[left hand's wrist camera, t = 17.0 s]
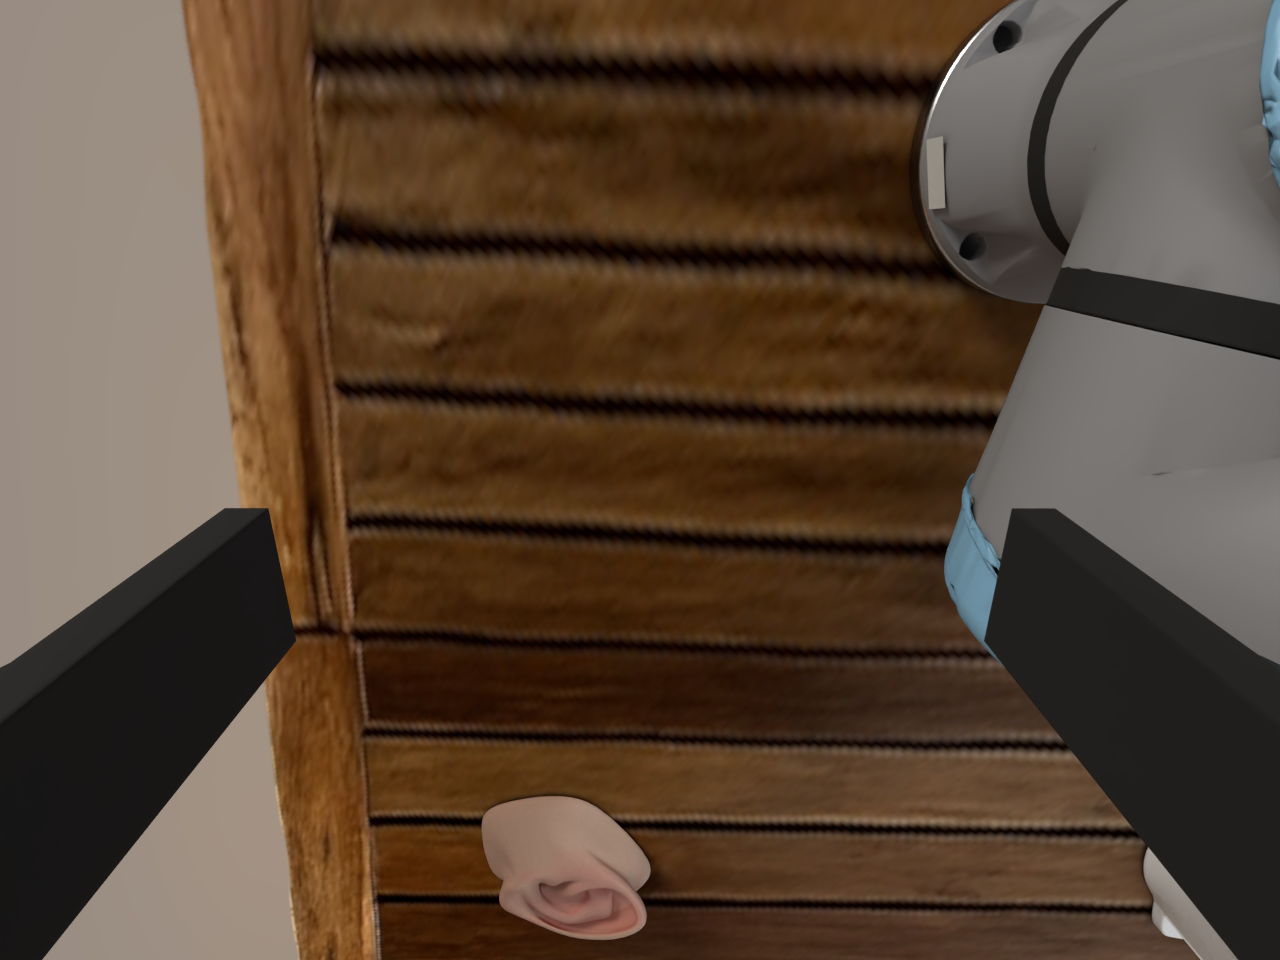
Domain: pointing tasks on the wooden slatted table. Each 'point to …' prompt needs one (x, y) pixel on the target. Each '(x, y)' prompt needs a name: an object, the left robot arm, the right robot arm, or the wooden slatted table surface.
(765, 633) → the wooden slatted table surface
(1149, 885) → the right robot arm
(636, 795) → the wooden slatted table surface
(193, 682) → the left robot arm
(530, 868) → the anatomical model
